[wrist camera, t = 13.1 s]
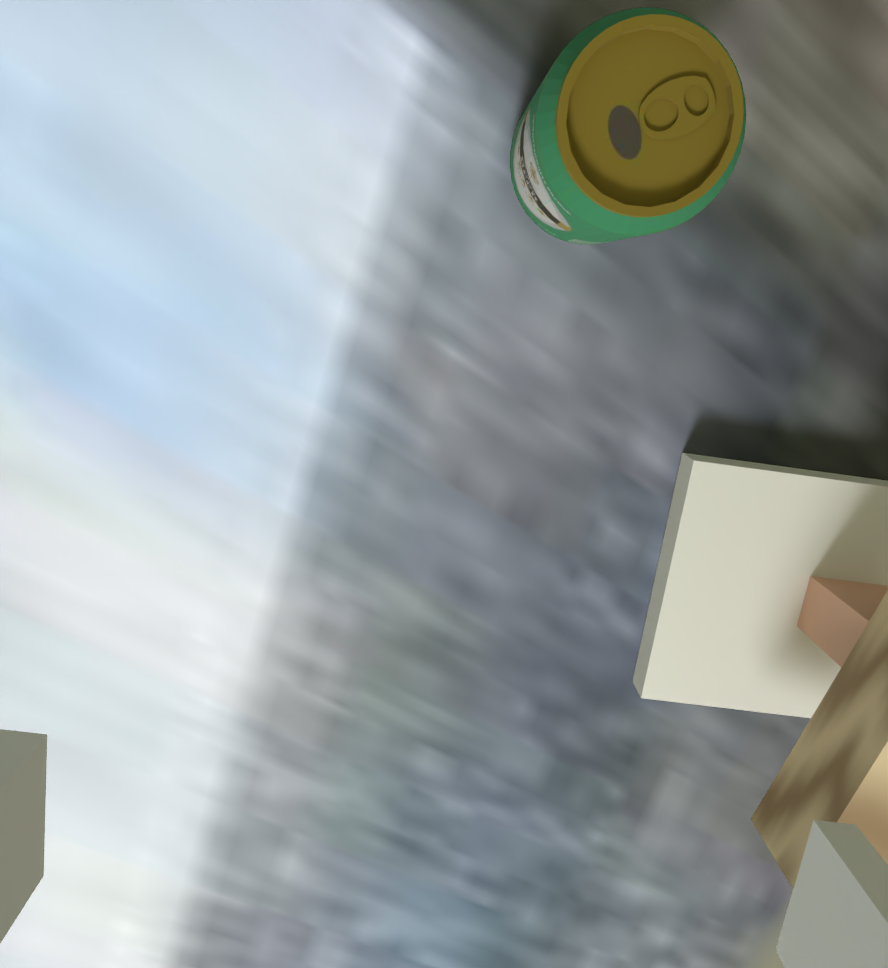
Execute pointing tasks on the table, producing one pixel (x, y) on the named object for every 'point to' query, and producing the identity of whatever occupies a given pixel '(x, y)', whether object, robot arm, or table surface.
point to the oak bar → (837, 759)
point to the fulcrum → (762, 585)
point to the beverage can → (629, 129)
